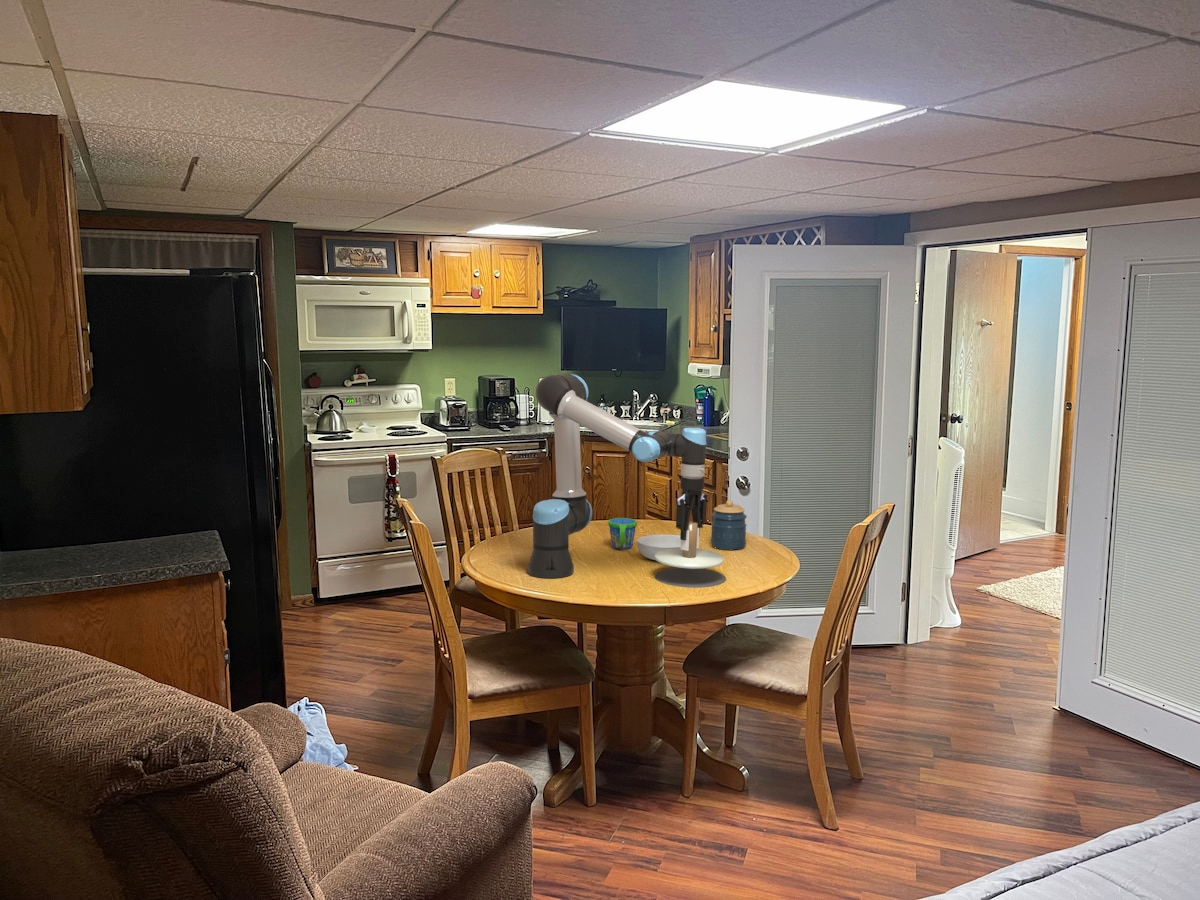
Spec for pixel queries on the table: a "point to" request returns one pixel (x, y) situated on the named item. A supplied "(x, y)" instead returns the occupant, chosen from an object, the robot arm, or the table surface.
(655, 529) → the table surface
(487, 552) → the table surface
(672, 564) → the lid
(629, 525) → the snack cup
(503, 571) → the table surface
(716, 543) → the canister
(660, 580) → the mat
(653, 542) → the serving bowl
